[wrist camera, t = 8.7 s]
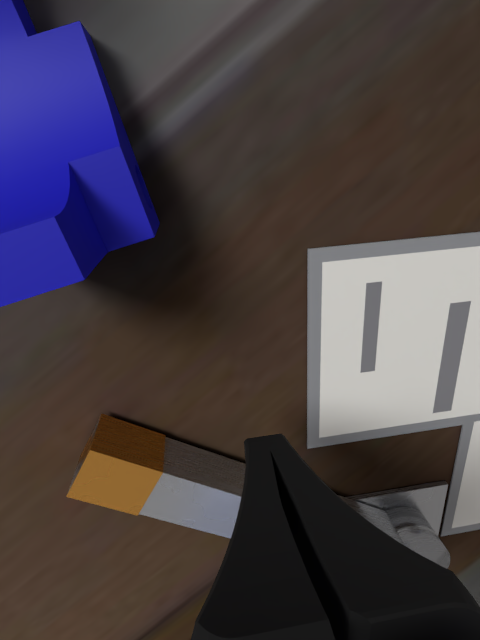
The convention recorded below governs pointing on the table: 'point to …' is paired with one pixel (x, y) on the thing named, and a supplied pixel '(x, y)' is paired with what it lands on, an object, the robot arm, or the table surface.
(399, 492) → the pivot base
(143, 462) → the orange-tipped grey bar
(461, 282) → the label
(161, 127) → the table surface
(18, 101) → the blue cradle mount
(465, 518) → the label
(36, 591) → the table surface
